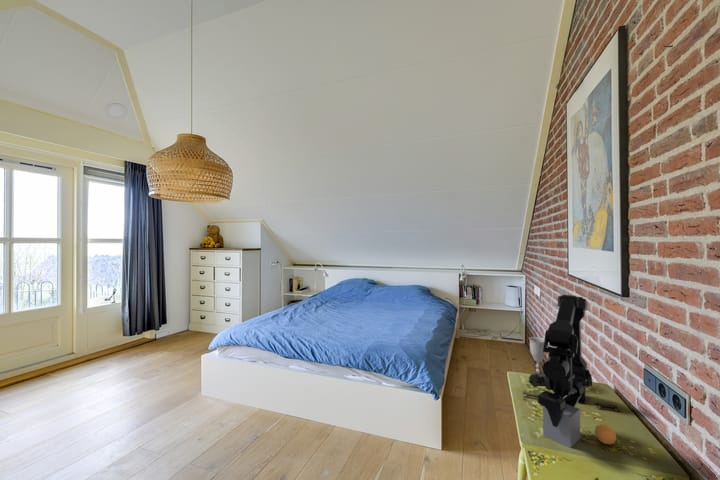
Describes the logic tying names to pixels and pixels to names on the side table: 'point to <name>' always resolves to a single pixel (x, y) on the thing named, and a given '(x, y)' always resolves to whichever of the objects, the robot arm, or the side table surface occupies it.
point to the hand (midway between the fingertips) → (561, 421)
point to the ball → (605, 434)
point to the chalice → (537, 350)
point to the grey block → (563, 426)
